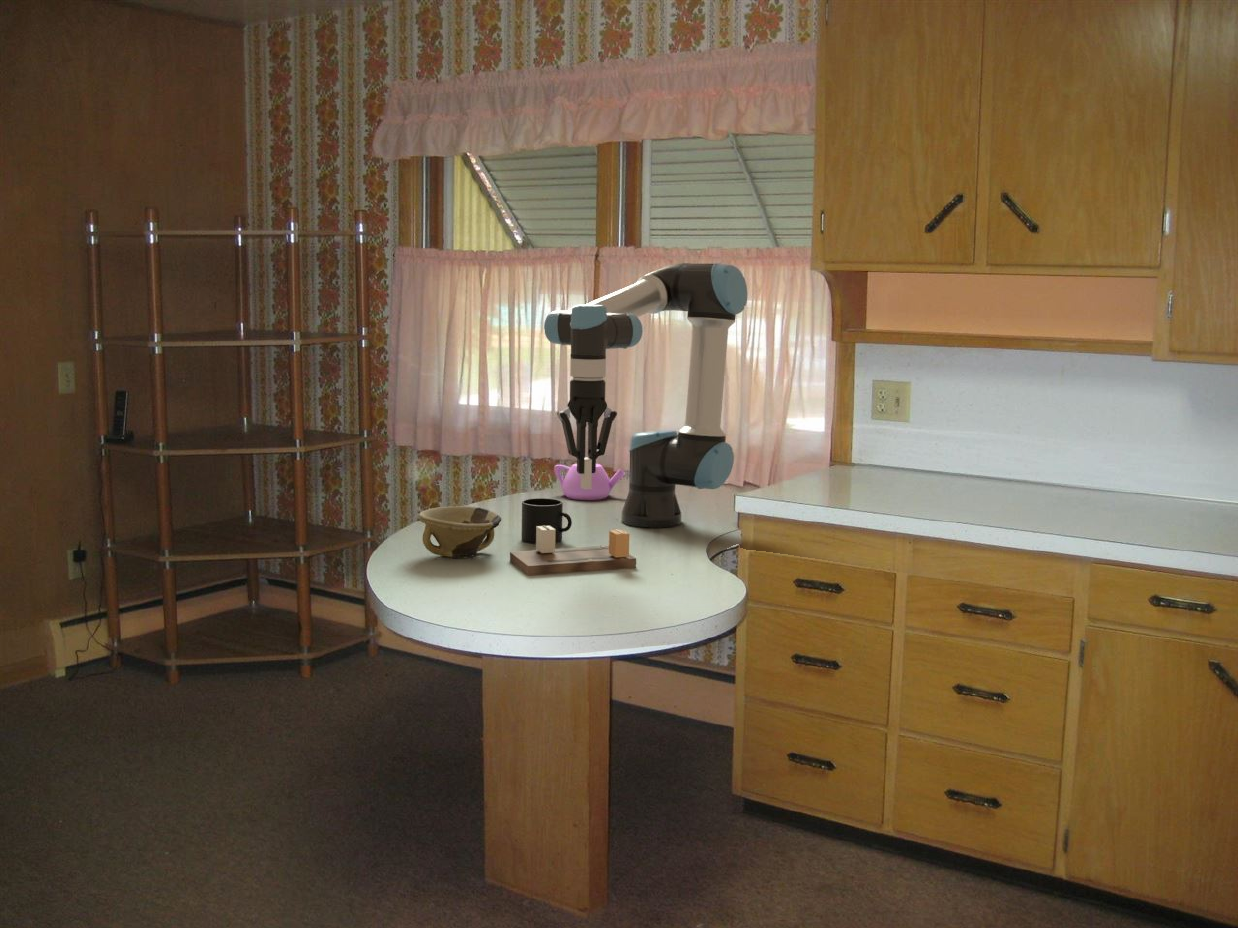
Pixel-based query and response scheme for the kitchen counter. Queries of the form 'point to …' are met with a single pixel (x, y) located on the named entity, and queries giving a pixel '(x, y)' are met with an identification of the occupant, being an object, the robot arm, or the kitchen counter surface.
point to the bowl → (458, 530)
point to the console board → (569, 560)
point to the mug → (542, 518)
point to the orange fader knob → (619, 543)
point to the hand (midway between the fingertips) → (586, 488)
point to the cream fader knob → (545, 539)
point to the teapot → (598, 483)
